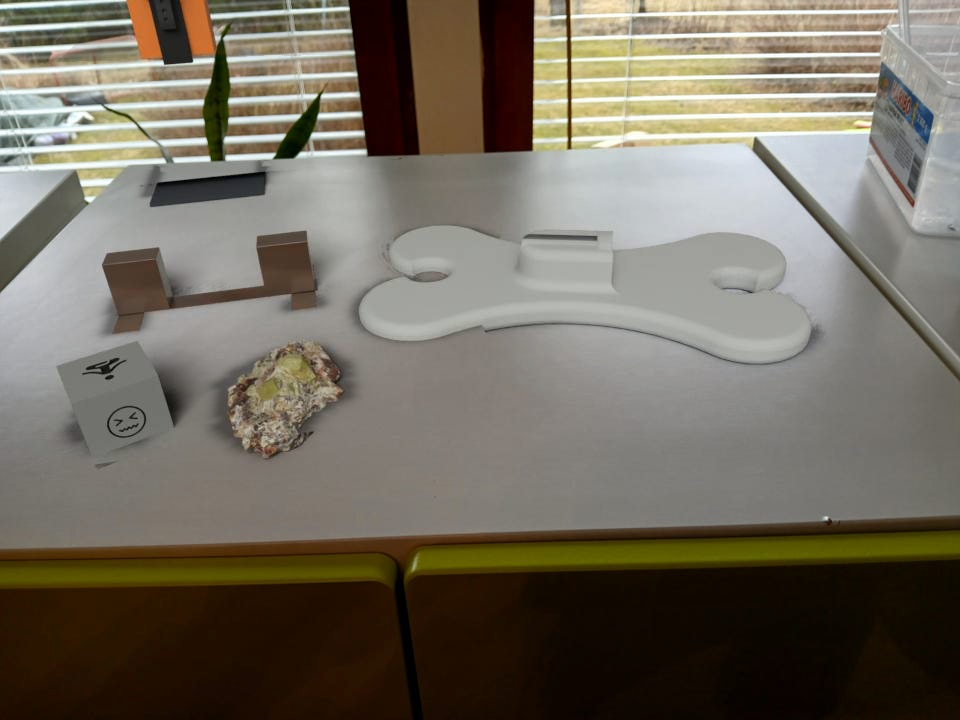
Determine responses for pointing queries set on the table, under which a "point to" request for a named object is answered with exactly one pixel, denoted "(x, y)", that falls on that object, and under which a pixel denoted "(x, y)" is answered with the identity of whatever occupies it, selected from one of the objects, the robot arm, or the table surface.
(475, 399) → the table surface
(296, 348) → the mineral rock
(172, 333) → the table surface
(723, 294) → the holder
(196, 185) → the mat
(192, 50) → the orange flat square block
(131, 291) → the stand
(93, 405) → the dice cube
